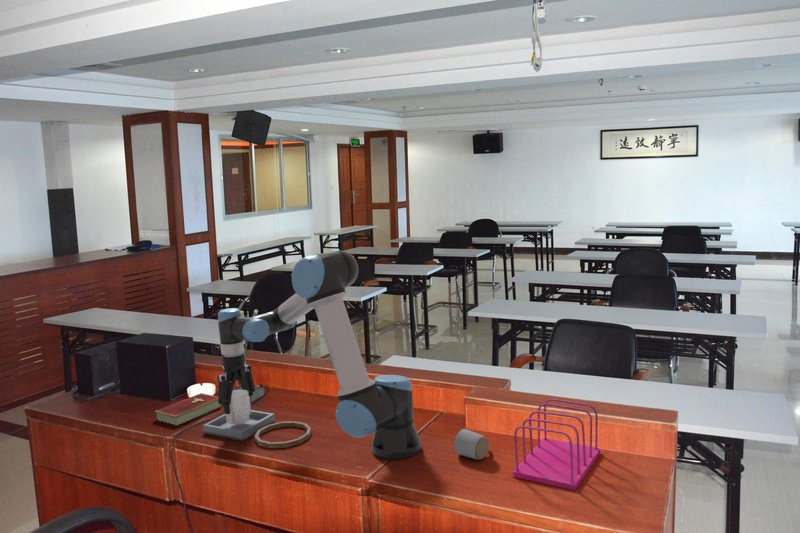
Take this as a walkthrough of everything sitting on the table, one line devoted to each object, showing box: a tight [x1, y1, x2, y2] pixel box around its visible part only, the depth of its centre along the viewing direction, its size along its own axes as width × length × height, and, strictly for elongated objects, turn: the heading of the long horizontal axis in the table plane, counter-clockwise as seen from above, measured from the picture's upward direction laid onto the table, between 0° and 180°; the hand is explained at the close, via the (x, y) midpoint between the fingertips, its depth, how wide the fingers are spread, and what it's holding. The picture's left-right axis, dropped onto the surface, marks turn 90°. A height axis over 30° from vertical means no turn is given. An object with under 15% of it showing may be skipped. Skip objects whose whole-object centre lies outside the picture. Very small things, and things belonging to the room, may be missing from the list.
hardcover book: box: [154, 392, 222, 426], centre depth 244 cm, size 12×21×4 cm, turn 147°
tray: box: [202, 409, 276, 442], centre depth 228 cm, size 17×17×3 cm
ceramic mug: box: [454, 428, 491, 461], centre depth 197 cm, size 11×8×8 cm
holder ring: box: [253, 420, 312, 449], centre depth 218 cm, size 18×18×2 cm
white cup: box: [226, 389, 249, 425], centre depth 227 cm, size 8×8×10 cm
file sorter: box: [512, 398, 601, 491], centre depth 187 cm, size 17×25×16 cm
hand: (239, 417), depth 227 cm, fingers closed on white cup, 8 cm apart
